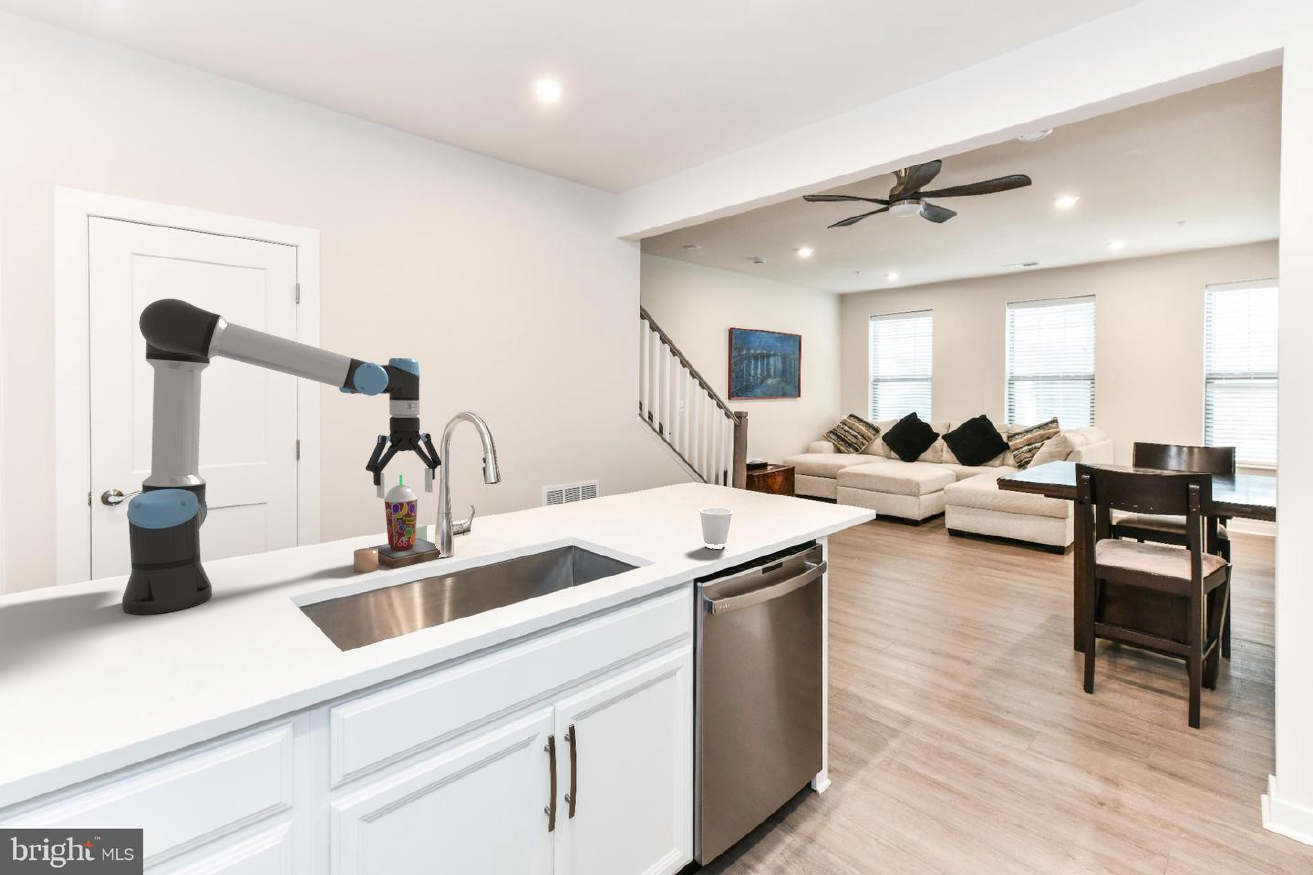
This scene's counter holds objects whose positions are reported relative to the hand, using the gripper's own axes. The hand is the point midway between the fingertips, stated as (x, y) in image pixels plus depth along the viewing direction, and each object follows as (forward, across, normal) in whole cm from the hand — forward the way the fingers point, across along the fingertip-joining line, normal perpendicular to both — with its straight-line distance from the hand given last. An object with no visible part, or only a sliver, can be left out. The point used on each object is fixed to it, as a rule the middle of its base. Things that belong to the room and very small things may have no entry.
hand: (405, 494), depth 170 cm
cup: (+16, +67, -55) cm, 89 cm away
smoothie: (+15, -1, 0) cm, 15 cm away
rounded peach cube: (+17, -13, -4) cm, 22 cm away
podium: (+17, 0, 0) cm, 17 cm away
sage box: (+17, +9, +13) cm, 23 cm away
